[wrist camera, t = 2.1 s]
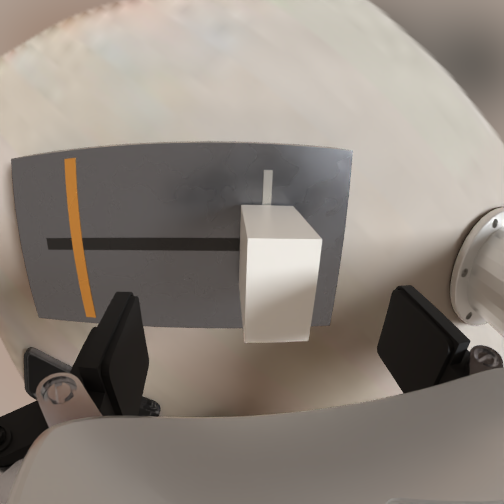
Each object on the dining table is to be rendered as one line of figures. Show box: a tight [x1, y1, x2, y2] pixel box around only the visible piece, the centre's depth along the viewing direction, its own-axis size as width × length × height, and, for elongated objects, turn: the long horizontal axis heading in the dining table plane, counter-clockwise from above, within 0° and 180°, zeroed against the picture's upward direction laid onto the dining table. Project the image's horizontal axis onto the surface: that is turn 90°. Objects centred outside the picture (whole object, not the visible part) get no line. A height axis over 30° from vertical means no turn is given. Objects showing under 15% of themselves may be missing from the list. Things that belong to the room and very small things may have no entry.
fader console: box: [11, 141, 353, 328], centre depth 20 cm, size 22×12×3 cm, turn 88°
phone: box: [24, 347, 160, 417], centre depth 27 cm, size 8×1×15 cm
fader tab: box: [239, 205, 322, 343], centre depth 16 cm, size 3×5×6 cm, turn 178°
